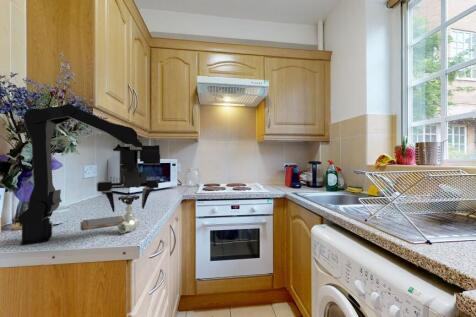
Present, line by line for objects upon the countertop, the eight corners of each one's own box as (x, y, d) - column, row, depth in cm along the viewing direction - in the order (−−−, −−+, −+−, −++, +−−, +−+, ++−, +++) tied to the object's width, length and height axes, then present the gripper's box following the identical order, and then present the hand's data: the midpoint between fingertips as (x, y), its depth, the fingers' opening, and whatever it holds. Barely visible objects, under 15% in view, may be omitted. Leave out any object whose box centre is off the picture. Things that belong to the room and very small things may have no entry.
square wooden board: (83, 230, 83) (83, 227, 83) (82, 221, 95) (82, 219, 95) (126, 224, 91) (126, 221, 91) (121, 217, 103) (121, 215, 103)
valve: (143, 229, 84) (143, 195, 84) (130, 235, 77) (130, 198, 78) (127, 228, 86) (127, 194, 86) (113, 233, 79) (113, 197, 79)
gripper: (98, 165, 70) (98, 218, 70) (163, 164, 80) (163, 211, 80) (96, 164, 79) (96, 211, 79) (154, 164, 89) (154, 205, 89)
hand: (128, 210), depth 82 cm, fingers open, 9 cm apart
